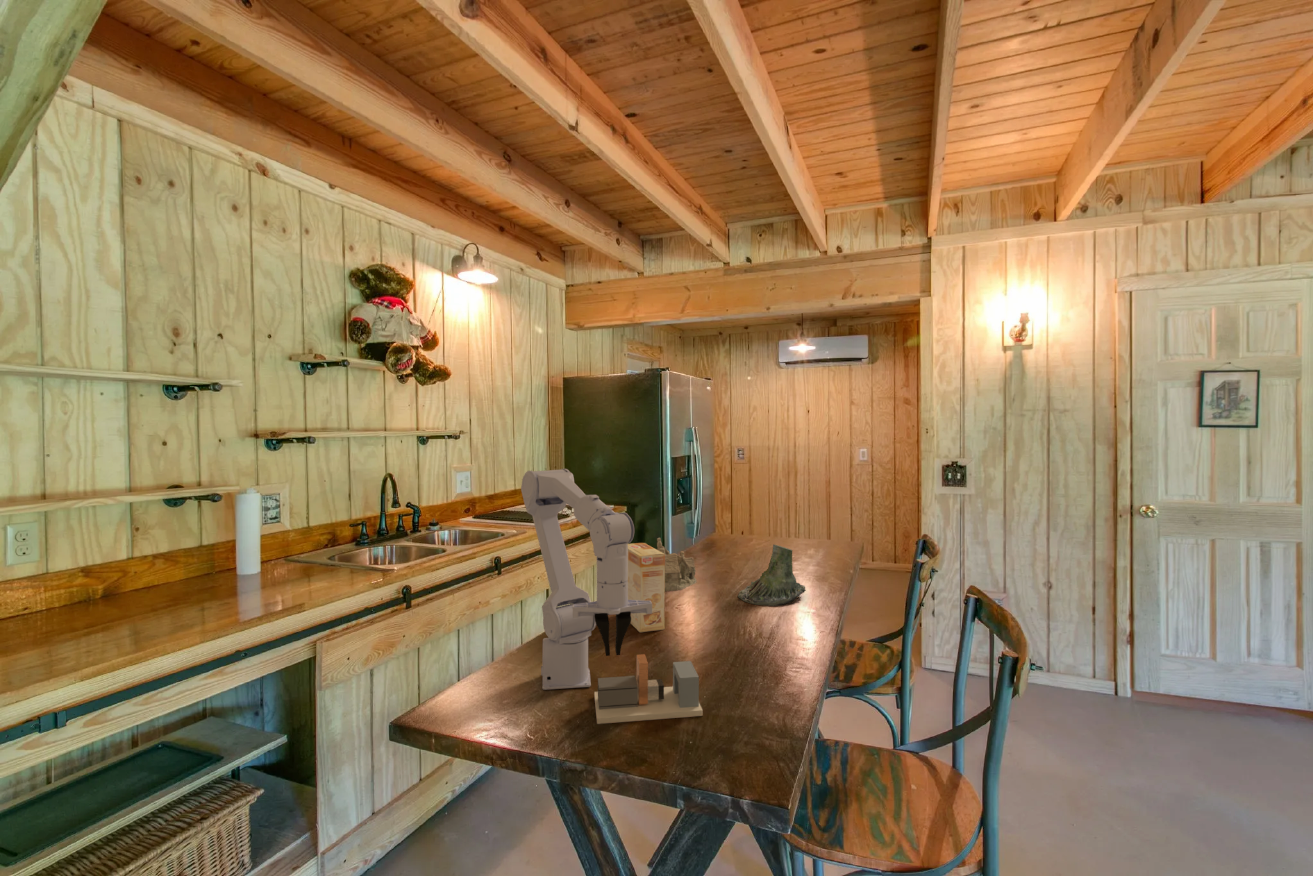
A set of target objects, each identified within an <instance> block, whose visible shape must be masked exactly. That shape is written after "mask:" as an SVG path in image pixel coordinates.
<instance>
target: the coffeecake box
mask: <svg viewBox="0 0 1313 876" xmlns="http://www.w3.org/2000/svg"><path fill="white" fill-rule="evenodd" d="M665 592H666V591H665V554H664V553H662V552H660V551H658V550H657V548H654V547H652V546H651V545H648V544H647V543H646V542H636V543H634V542H633V543H628V600H643V601H647V600H651V602H652V614H646V613H633V614H631V623H630V625H631V626H633V627H634V628H635V629H636V630H637V631H638V632H639V633H646V632H653V631H654V632H655V631H662V630H663V631H664V630H665V597H666V595H665Z"/></svg>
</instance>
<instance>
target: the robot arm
mask: <svg viewBox="0 0 1313 876" xmlns="http://www.w3.org/2000/svg"><path fill="white" fill-rule="evenodd" d="M521 480H522V481H521V484H520V485H521V487H520V488H521V489H520V491H521V494H522V498H523V500H522V501H523V503H524V507H525V510H526V513H527V514H529V515H531V516H532V520H533V524H534V528H535V531H536V537H537V539H538V544H539V548H540V549H539V550H540V551H541V556H542V559H543V565H544V568H545V572H546V576H547V581H548V583H549V588H550V592H551V593H550V594H549V596H548V597H547V598H545V601H544V602H543V604H542V605H541V609H542V610H541V611H542V617H543V618H542V625H543V629H544V633H545V635H546V636H547V637H544V638H543V639H542V656H541V657H542V665H541V667H540V668H541V669H540V670H541V671H540V676H542V687H541V688H542V690H544V691H545V690H547V691H548V690H559V689H562V690H563V689H575V688H589V687H592V683H591V671H590V668H589V637H591V636H592V631H594V630H595V628H596V627H597V629H598V631H599V633H600V636H601V638H602V640H603V645H604V653H605V656H606V657H610V656H611V654H610V653H611V650H610V637H609V636H610V621H609V620H610V619H609V616H610V615H614V616H615V644H614V645H615V648H614V649H615V655H616V656H620V655H621V651H622V645H623V642H624V639H625V636H626V633H627V631H628V629H629V627H630V625H631V614H633V613H646V614H652V602H651V600H647V601H643V600H628V544H631V542H632V541H633V539H634V536H635V525H634V521H633V520H632V518H631V516H630V515H629V514H628V513H627V512H615V511H614V510H613V509H612V508H611V507H610V506H608V505H607V504H605V502H603V501H602V500H601V499H600V496H599V495H597V494H586V493H584V491H583V490H582V489H581V488H580V487H579V486H578V485H577V484H576V483H575V478H574V474H573V473H572V472H571V471H570V470H569V469H568V468H561V469H551V470H527V471H525V473H524V474H523V476H522V479H521ZM567 505H568V506H569V507H571V509H573V516H574V518H575V519H576V520H577V521H578V522H579V523H580V524H581V525H582V526H584V528H585V529H587V530H588V531H589V535H590V536H589V537H590V540H591V542H592V545H593V547H592V549H593V553H594V556H595V557H596V600H594V601H592V600H591V598H590V595H589V592H588V591H585V590H584V589H582V588H580V587H578V586H577V584H576V582H575V578H574V574H573V570H572V567H571V563H570V560H569V559H570V558H569V555H568V551H567V548H566V545H565V541H564V536H563V533H562V530H561V526H560V522H559V519H558V518H559V517H558V515H559V513H560V512H562V511H563V510H564V509H565V508H566V506H567Z"/></svg>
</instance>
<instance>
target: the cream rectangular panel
mask: <svg viewBox="0 0 1313 876" xmlns="http://www.w3.org/2000/svg"><path fill="white" fill-rule="evenodd" d="M636 687H638V685H637V677H636V675H625V676H610V677H597V691H593V692H594V697H593V698H594V703H595V704H594V706H595V716H596V724H597V725H603V724H612V723H627V722H639V721H640V722H641V721H653V720H665V719H675V718H677V719H678V718H690V717H691V718H693V717H702V716H704V715H703V714H704V713H703V707H702V705H701V704H700V702H699V706H698V707H684V708H680V707H679V704H678V694H674V691H673V686H664V699H661V700H648V704H640V705H639V702H638V701H637V695H638V688H636ZM607 689H608V690H607Z"/></svg>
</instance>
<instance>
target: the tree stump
mask: <svg viewBox="0 0 1313 876" xmlns="http://www.w3.org/2000/svg"><path fill="white" fill-rule="evenodd" d="M771 552H772V553H771V556H770V560H769V563H768V566H767V567H768V568H766V570H763V572H761V576H759V578H757V579H756V580H755V581H751V583H750V585H747V586H746V587H745V588H744V589H742V590H740V591H739V592H738V596H737V597H738V598H739V599H740V600H742V601H743V602H745V603H747V604H749V605H750V604H751V605H756V606H766V607H778V606H780V607H781V606H784V605H787V604H789V603H792V602H793V601H795V600H796V599H798V598H799V596H801V595H802V594H804V593H805V591H807V589H806V586H805V585H803V584H801V583H799V582H797V579H796V576H795V575H794V573H793V571H794V570H793V550H792V549H790V548H787V547H785V546H781V545H778V544H775V543H774V544H772V551H771Z"/></svg>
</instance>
